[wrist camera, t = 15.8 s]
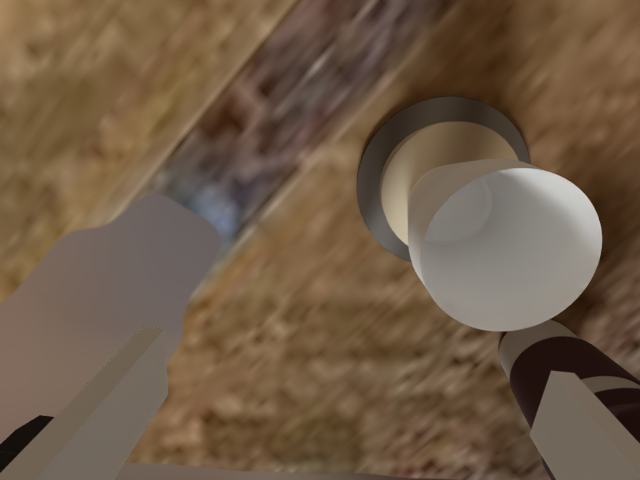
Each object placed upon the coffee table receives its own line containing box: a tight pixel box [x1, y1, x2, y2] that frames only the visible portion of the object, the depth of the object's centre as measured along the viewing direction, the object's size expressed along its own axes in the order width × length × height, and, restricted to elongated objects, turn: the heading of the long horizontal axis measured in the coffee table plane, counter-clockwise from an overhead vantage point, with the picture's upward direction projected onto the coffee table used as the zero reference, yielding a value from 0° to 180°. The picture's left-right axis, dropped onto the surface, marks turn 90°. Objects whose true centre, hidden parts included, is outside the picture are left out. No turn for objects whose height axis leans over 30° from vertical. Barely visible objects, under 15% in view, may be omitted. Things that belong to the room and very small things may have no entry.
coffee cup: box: [499, 320, 640, 480], centre depth 30 cm, size 10×10×15 cm
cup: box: [407, 159, 602, 331], centre depth 24 cm, size 9×9×12 cm
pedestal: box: [357, 97, 530, 262], centre depth 31 cm, size 15×15×4 cm
